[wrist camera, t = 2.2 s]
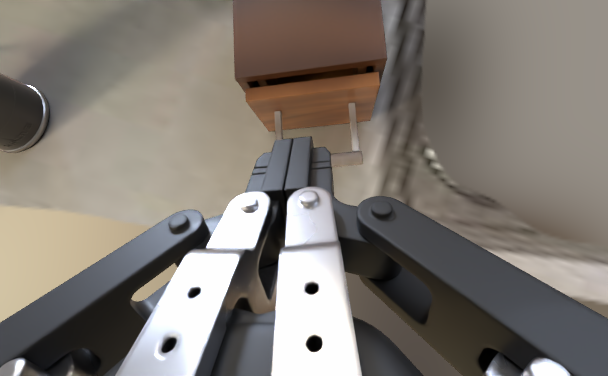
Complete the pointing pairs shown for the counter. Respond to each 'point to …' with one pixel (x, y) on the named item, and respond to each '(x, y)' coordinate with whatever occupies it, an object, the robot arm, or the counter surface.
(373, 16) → the cabinet
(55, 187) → the counter surface
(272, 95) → the drawer
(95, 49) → the counter surface
